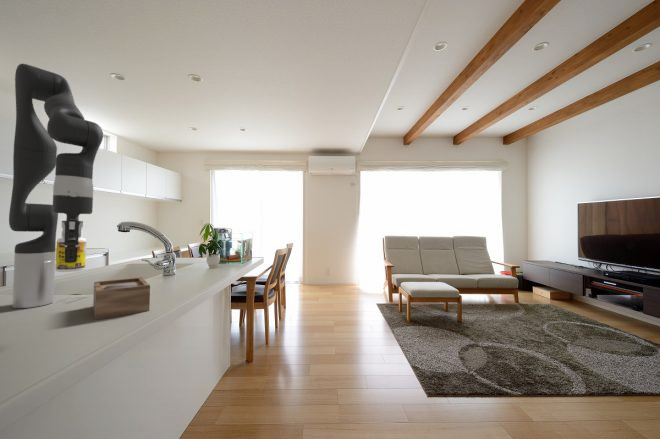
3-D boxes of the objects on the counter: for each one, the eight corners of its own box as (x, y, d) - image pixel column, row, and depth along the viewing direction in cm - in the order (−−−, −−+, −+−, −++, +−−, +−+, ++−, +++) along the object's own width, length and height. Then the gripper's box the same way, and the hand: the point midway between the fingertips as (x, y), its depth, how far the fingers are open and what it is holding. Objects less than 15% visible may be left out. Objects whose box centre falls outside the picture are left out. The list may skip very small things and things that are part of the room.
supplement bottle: (52, 273, 66) (54, 231, 67) (58, 269, 71) (60, 230, 71) (82, 271, 69) (84, 231, 70) (87, 268, 74) (88, 230, 74)
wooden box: (93, 306, 90) (94, 281, 90) (140, 299, 99) (141, 277, 99) (95, 319, 78) (96, 291, 78) (149, 310, 87) (150, 285, 87)
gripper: (54, 195, 73) (52, 258, 73) (50, 192, 63) (47, 266, 62) (92, 197, 78) (89, 256, 78) (94, 195, 68) (91, 263, 68)
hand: (71, 260), depth 70 cm, fingers closed on supplement bottle, 5 cm apart
